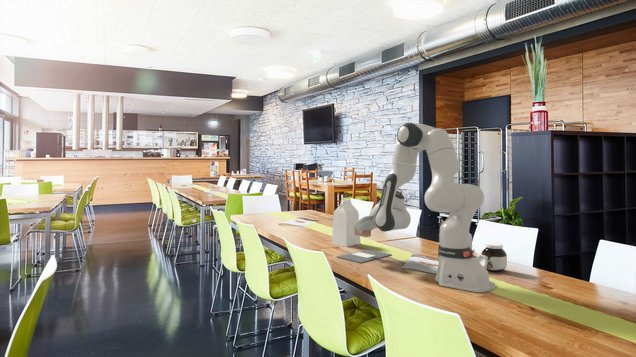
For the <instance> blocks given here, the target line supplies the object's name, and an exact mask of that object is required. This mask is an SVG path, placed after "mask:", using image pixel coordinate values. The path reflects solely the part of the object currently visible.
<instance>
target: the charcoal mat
mask: <svg viewBox="0 0 636 357" xmlns="http://www.w3.org/2000/svg"><path fill="white" fill-rule="evenodd" d="M392 255H393V254H392V253H388V252H383V251H378V250H374V249H364V250H359V251H354V252H351V253H345V254H342V255H341V254H340V255H337V256H336V258H337V259H341V260H346V261H350V262H354V263H357V264H364V263H367V262H368V263H369V262H371V261H375V260H379V259H382V258H387V257H390V256H392Z"/></svg>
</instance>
